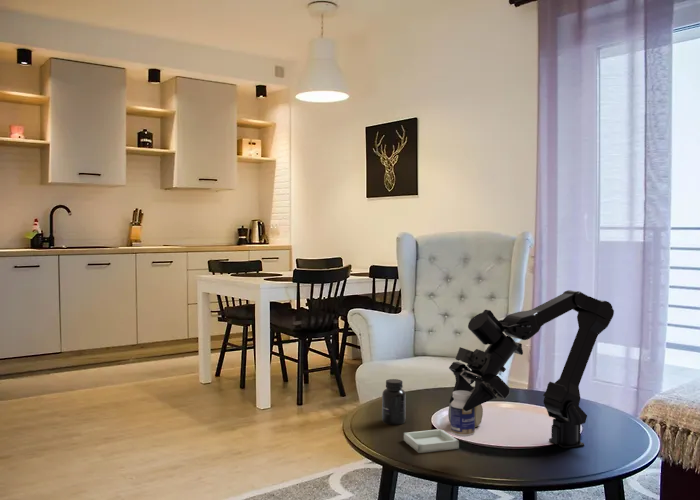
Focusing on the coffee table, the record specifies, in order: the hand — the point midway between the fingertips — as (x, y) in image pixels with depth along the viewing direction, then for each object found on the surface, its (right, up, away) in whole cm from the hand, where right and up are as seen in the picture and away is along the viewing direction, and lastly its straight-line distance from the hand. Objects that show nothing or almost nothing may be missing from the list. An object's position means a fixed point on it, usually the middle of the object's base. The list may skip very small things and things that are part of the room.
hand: (457, 406), depth 150 cm
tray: (-5, -13, +12) cm, 18 cm away
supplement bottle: (-13, -13, +32) cm, 36 cm away
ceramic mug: (+8, -13, +30) cm, 33 cm away
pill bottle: (+1, -7, +1) cm, 7 cm away
